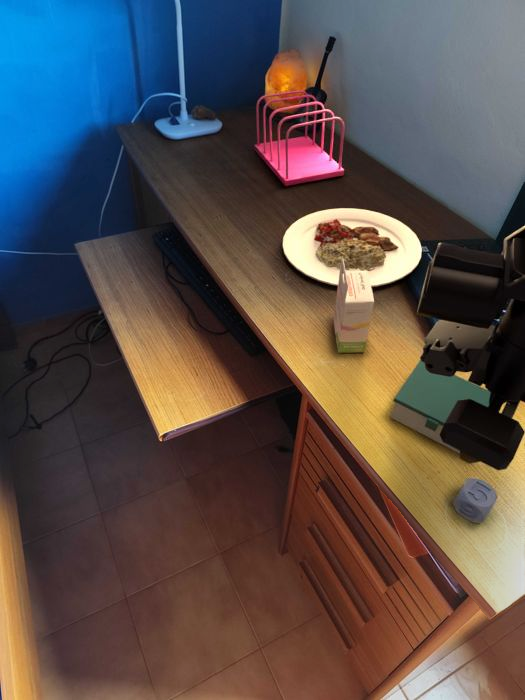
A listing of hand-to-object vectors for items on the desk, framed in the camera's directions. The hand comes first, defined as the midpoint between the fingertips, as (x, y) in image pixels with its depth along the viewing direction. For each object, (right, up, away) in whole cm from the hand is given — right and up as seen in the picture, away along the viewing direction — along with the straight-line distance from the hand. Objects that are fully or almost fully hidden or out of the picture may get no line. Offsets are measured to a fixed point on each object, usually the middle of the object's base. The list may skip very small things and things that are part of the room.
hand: (479, 431), depth 53 cm
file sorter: (-15, +63, +81) cm, 104 cm away
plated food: (-5, +31, +51) cm, 60 cm away
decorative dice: (+3, -12, +9) cm, 15 cm away
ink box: (-9, +12, +32) cm, 35 cm away
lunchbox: (+3, -1, +19) cm, 19 cm away
